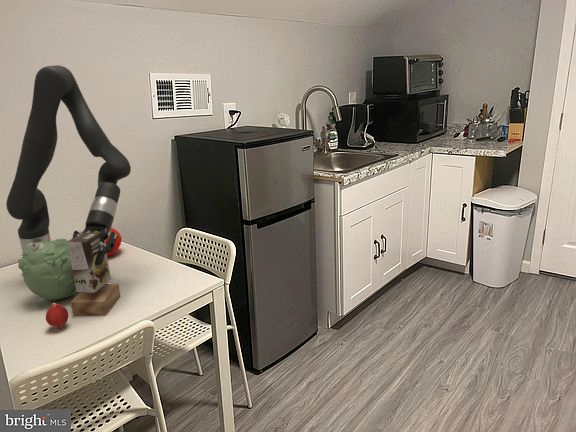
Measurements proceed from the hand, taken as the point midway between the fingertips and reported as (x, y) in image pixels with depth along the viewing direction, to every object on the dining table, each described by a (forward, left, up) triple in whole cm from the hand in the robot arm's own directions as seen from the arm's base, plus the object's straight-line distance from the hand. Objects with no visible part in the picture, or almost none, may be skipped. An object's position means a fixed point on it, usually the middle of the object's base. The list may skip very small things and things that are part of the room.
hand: (86, 264), depth 139 cm
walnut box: (0, +2, -15) cm, 15 cm away
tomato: (-21, +41, -15) cm, 48 cm away
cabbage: (-16, +6, -15) cm, 23 cm away
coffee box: (0, +2, -8) cm, 8 cm away
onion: (-4, -11, -15) cm, 19 cm away
